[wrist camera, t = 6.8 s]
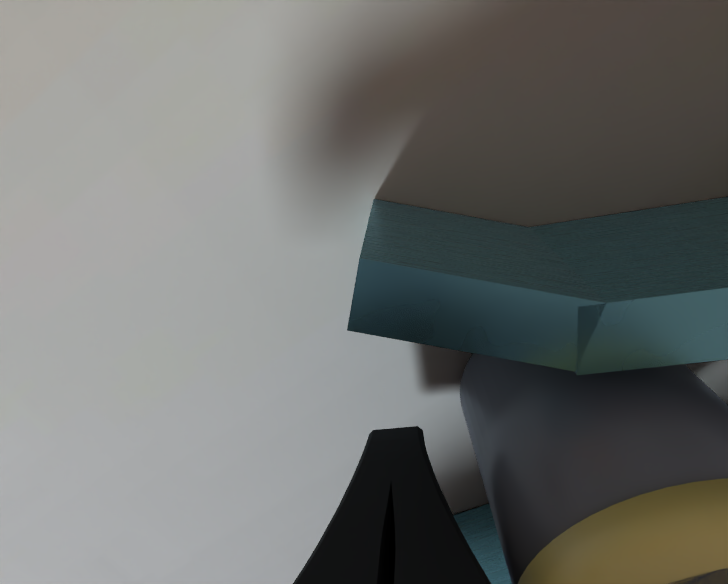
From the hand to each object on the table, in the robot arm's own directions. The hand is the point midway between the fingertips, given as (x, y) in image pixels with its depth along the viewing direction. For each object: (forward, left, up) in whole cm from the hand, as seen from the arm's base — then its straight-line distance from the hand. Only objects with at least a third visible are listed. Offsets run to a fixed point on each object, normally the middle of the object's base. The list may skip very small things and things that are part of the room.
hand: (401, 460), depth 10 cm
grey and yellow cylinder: (0, -4, -2) cm, 4 cm away
